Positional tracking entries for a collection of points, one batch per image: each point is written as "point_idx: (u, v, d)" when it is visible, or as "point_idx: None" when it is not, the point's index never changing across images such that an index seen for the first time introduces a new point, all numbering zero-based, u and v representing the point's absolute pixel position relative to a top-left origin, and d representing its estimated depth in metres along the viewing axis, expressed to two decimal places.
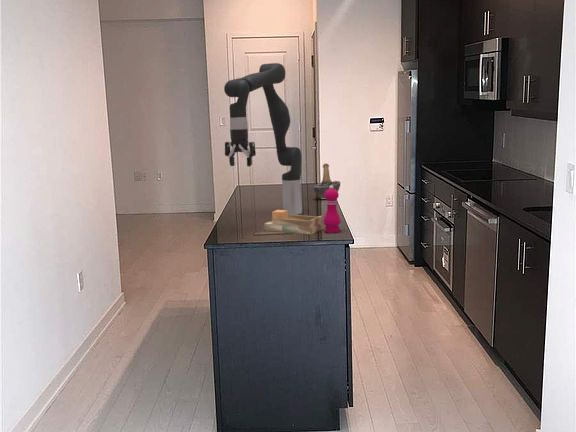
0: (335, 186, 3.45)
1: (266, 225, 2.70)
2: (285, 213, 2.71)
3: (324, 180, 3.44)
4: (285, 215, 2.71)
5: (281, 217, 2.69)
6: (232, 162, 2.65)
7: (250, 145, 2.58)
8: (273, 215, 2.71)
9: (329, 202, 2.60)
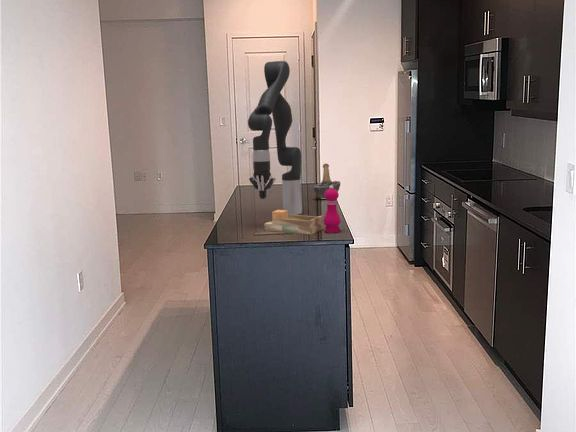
0: (335, 186, 3.45)
1: (266, 225, 2.70)
2: (285, 213, 2.71)
3: (324, 180, 3.44)
4: (285, 215, 2.71)
5: (281, 217, 2.69)
6: None
7: (270, 181, 2.70)
8: (273, 215, 2.71)
9: (329, 202, 2.60)
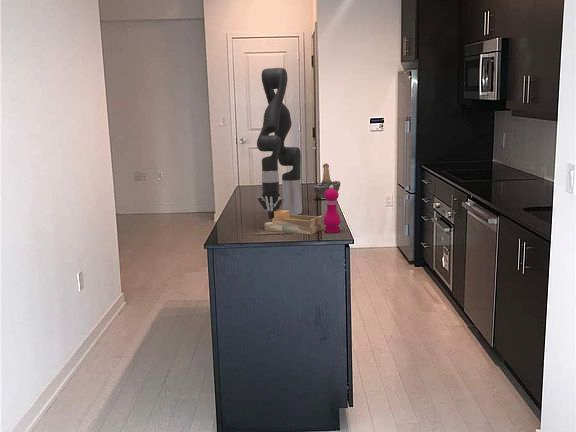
0: (335, 186, 3.45)
1: (266, 225, 2.70)
2: (287, 213, 2.71)
3: (324, 180, 3.44)
4: (287, 215, 2.71)
5: (283, 217, 2.69)
6: None
7: (279, 202, 2.69)
8: (274, 215, 2.70)
9: (329, 202, 2.60)
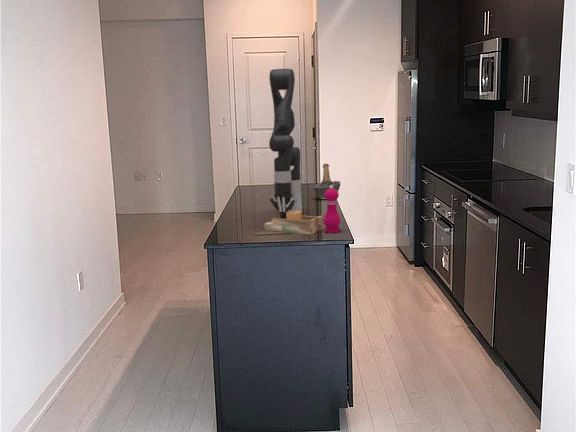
0: (335, 186, 3.45)
1: (266, 225, 2.70)
2: (299, 214, 2.68)
3: (324, 180, 3.44)
4: (299, 216, 2.68)
5: (295, 218, 2.66)
6: None
7: (291, 202, 2.66)
8: (287, 216, 2.67)
9: (329, 202, 2.60)
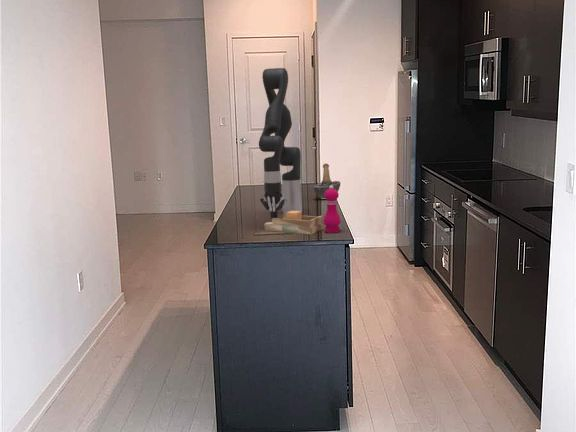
0: (335, 186, 3.45)
1: (266, 225, 2.70)
2: (299, 214, 2.68)
3: (324, 180, 3.44)
4: (299, 216, 2.68)
5: (295, 218, 2.66)
6: None
7: (281, 202, 2.69)
8: (287, 216, 2.67)
9: (329, 202, 2.60)
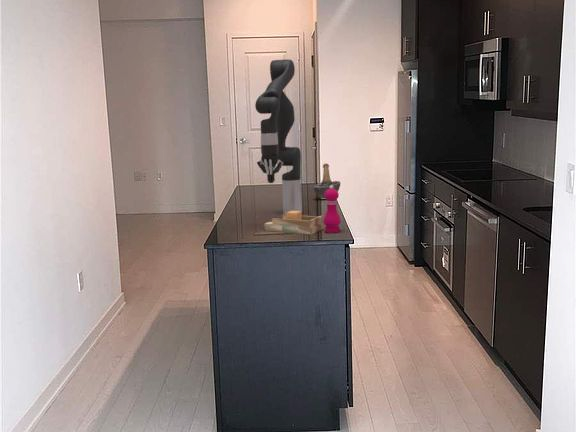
0: (335, 186, 3.45)
1: (266, 225, 2.70)
2: (299, 214, 2.68)
3: (324, 180, 3.44)
4: (299, 216, 2.68)
5: (295, 218, 2.66)
6: None
7: (278, 164, 2.66)
8: (287, 216, 2.67)
9: (329, 202, 2.60)
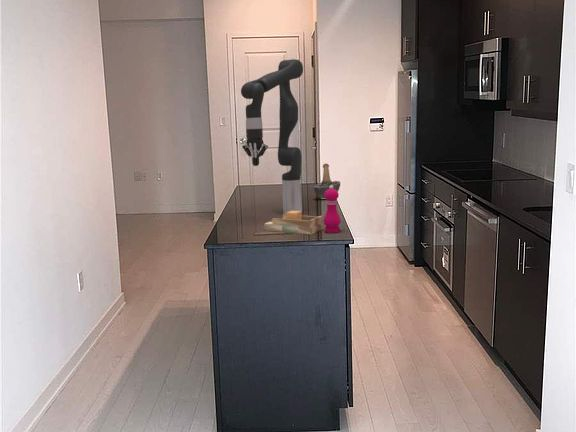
0: (335, 186, 3.45)
1: (266, 225, 2.70)
2: (299, 214, 2.68)
3: (324, 180, 3.44)
4: (299, 216, 2.68)
5: (295, 218, 2.66)
6: None
7: (263, 148, 2.77)
8: (287, 216, 2.67)
9: (329, 202, 2.60)
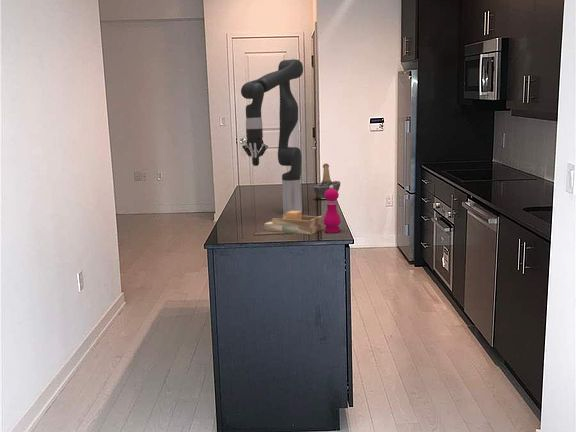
0: (335, 186, 3.45)
1: (266, 225, 2.70)
2: (299, 214, 2.68)
3: (324, 180, 3.44)
4: (299, 216, 2.68)
5: (295, 218, 2.66)
6: None
7: (263, 148, 2.77)
8: (287, 216, 2.67)
9: (329, 202, 2.60)
